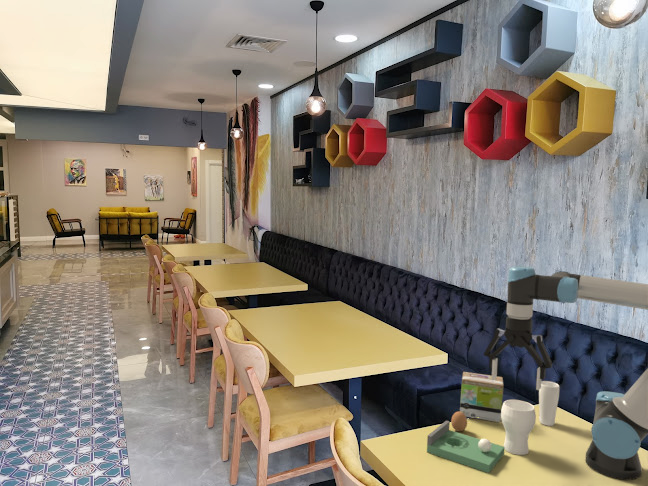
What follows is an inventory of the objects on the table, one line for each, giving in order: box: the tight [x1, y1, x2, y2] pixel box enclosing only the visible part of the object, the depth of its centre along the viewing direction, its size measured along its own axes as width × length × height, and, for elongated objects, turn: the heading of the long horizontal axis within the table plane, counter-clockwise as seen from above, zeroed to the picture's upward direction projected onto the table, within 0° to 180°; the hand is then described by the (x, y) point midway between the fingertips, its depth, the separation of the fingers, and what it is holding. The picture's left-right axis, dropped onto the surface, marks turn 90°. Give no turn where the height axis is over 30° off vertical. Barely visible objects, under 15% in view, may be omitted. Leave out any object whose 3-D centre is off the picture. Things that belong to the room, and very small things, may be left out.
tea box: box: [459, 371, 504, 423], centre depth 195 cm, size 15×10×15 cm, turn 73°
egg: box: [450, 410, 468, 432], centre depth 180 cm, size 5×5×7 cm
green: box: [426, 420, 505, 474], centre depth 164 cm, size 20×15×6 cm
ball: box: [478, 438, 492, 452], centre depth 160 cm, size 4×4×4 cm
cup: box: [501, 399, 537, 456], centre depth 167 cm, size 11×11×15 cm
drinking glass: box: [538, 380, 560, 427], centre depth 189 cm, size 7×7×15 cm
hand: (515, 383), depth 159 cm, fingers open, 13 cm apart
